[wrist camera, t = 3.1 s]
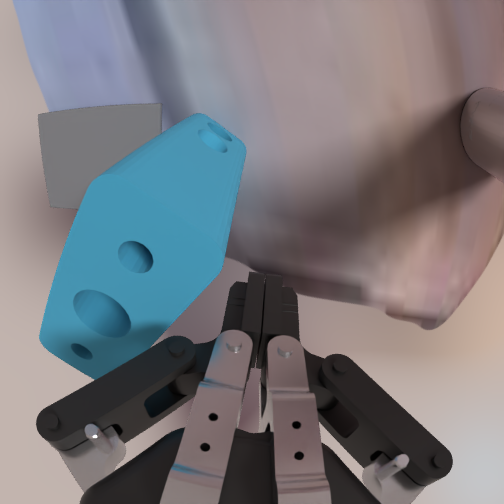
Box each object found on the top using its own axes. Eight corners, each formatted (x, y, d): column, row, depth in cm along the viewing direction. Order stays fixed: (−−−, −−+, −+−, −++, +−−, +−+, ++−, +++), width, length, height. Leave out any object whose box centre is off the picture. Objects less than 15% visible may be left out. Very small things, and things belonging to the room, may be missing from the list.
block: (182, 222, 31) (111, 388, 15) (144, 196, 30) (37, 343, 13) (254, 132, 26) (236, 255, 9) (210, 100, 24) (100, 161, 8)
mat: (161, 103, 25) (160, 103, 24) (163, 215, 31) (162, 217, 31) (40, 113, 25) (37, 114, 25) (52, 205, 32) (50, 207, 31)
